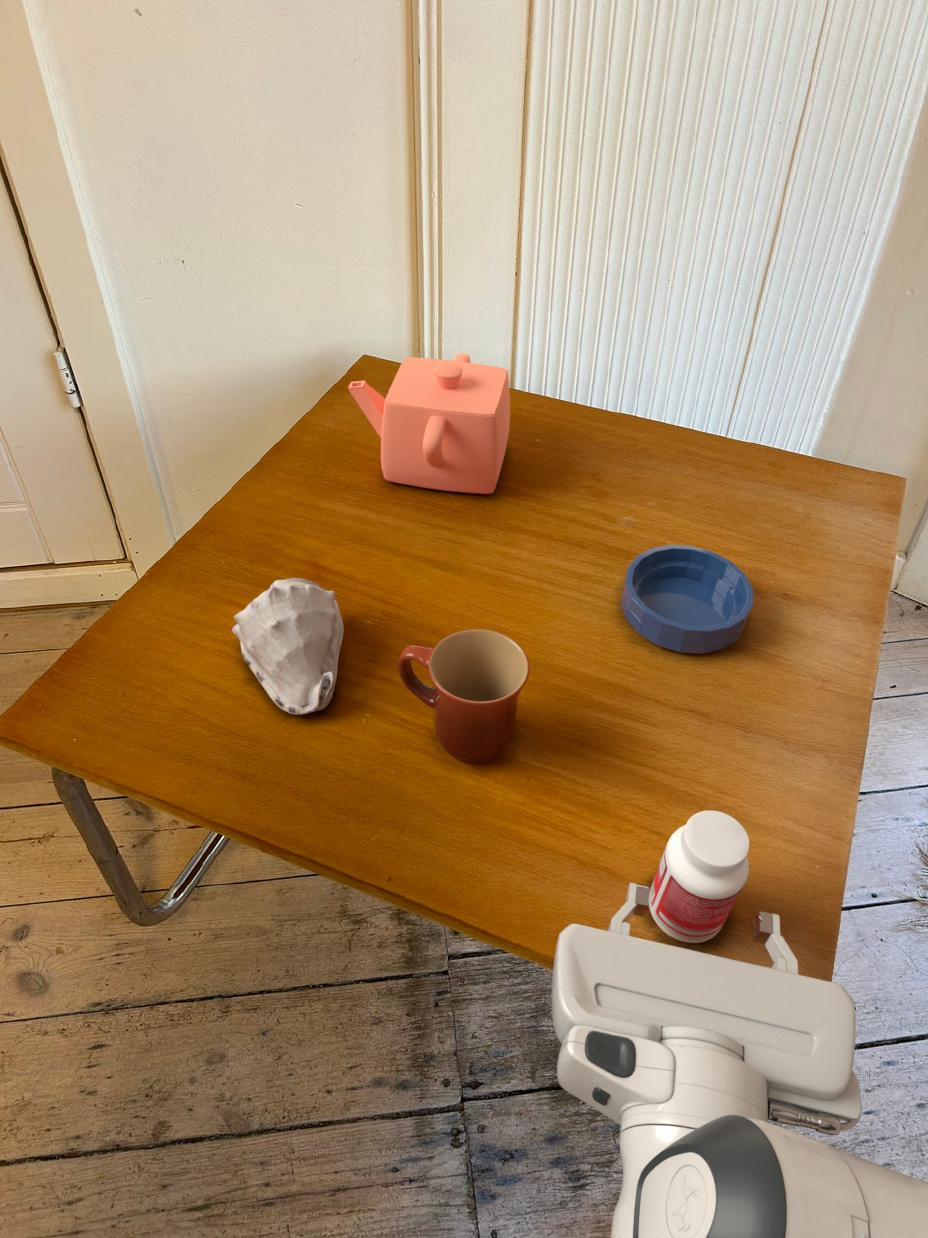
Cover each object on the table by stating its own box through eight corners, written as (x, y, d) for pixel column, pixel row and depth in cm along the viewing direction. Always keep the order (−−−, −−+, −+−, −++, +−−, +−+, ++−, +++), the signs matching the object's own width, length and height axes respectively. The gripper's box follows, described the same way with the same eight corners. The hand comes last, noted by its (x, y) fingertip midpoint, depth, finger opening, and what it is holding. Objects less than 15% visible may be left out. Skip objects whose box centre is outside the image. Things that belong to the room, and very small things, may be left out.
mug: (532, 717, 84) (542, 645, 76) (501, 788, 78) (509, 716, 70) (420, 680, 86) (419, 607, 79) (381, 745, 81) (377, 672, 73)
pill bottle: (736, 937, 68) (776, 867, 61) (664, 953, 67) (695, 884, 60) (703, 867, 73) (737, 794, 65) (635, 881, 72) (661, 808, 64)
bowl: (743, 582, 98) (753, 555, 96) (743, 668, 89) (754, 641, 86) (626, 562, 100) (632, 535, 97) (614, 644, 91) (620, 617, 88)
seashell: (300, 733, 81) (288, 662, 74) (219, 652, 88) (201, 580, 81) (398, 668, 88) (395, 597, 80) (315, 597, 94) (306, 526, 87)
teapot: (514, 426, 120) (522, 332, 110) (490, 523, 104) (496, 424, 95) (375, 409, 122) (370, 315, 112) (331, 502, 106) (321, 403, 97)
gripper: (883, 1129, 51) (861, 913, 61) (542, 1044, 54) (572, 851, 63) (846, 1157, 55) (831, 952, 65) (534, 1077, 58) (563, 892, 68)
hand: (701, 901), depth 64 cm, fingers open, 8 cm apart
